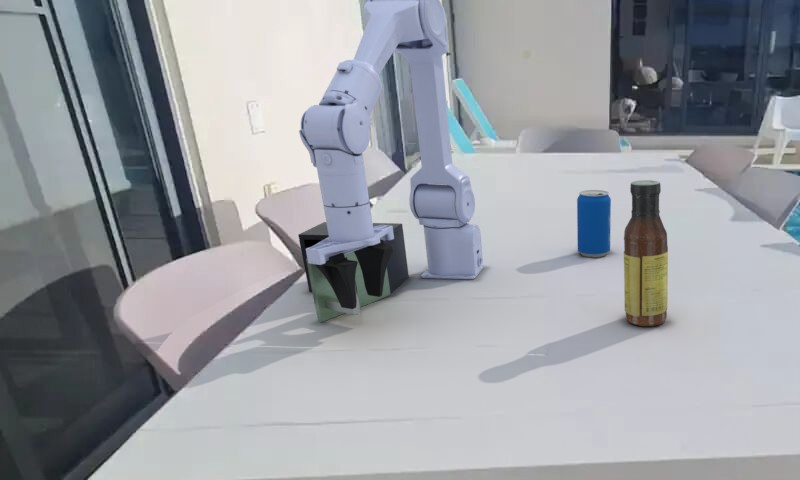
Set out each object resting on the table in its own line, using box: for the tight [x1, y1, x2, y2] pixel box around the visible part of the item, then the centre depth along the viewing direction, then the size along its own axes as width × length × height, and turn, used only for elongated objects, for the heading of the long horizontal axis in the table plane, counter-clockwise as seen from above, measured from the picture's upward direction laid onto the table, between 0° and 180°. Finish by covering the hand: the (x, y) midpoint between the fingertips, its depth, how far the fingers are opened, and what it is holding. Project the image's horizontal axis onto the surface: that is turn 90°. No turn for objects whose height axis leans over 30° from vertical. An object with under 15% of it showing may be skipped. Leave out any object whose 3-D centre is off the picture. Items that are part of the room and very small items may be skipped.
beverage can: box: [576, 189, 612, 258], centre depth 124 cm, size 6×6×12 cm
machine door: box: [306, 251, 392, 323], centre depth 94 cm, size 6×14×9 cm, turn 152°
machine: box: [298, 221, 410, 295], centre depth 106 cm, size 9×14×10 cm, turn 86°
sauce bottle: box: [623, 179, 669, 327], centre depth 89 cm, size 6×6×20 cm
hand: (362, 301), depth 89 cm, fingers open, 5 cm apart
